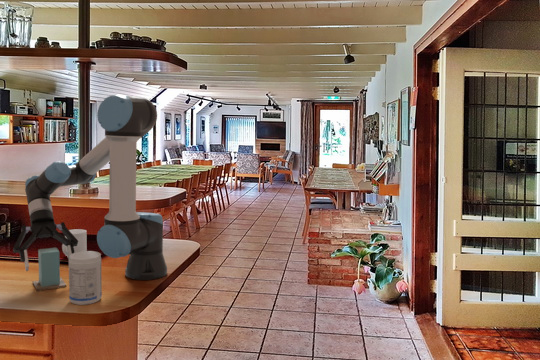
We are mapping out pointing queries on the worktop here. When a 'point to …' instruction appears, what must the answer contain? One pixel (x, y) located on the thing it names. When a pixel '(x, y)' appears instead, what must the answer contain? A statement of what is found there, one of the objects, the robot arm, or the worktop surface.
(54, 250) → the tall teal pillar
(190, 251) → the worktop surface
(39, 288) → the grey pedestal stand
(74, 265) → the supplement tub
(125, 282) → the worktop surface
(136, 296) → the worktop surface
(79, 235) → the mug
